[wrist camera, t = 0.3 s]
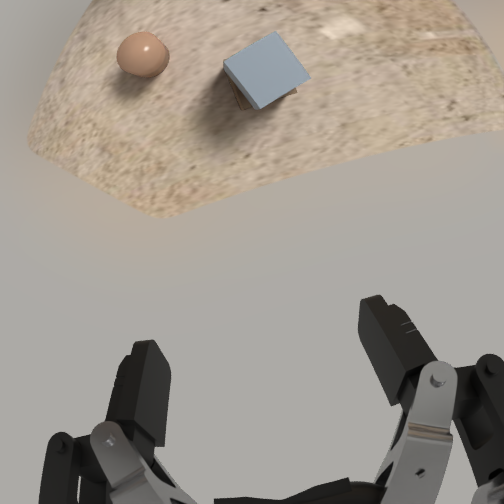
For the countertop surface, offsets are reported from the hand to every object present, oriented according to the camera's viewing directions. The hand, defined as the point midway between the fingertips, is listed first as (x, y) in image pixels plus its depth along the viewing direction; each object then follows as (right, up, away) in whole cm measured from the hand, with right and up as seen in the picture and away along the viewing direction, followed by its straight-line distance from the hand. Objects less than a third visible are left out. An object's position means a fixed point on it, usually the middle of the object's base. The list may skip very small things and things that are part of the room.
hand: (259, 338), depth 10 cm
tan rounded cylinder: (-13, +26, +16) cm, 33 cm away
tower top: (+1, +21, +15) cm, 26 cm away
